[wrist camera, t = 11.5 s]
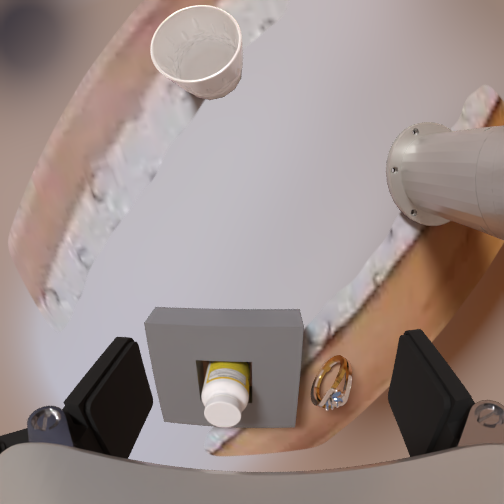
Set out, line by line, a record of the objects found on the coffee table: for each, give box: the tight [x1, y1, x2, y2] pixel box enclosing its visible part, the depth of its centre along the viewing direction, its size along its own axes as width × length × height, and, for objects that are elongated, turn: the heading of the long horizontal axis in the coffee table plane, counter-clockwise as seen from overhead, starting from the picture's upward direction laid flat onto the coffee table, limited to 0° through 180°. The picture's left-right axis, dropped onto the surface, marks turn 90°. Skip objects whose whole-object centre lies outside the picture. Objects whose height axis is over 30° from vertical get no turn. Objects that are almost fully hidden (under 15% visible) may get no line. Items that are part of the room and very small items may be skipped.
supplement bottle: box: [201, 361, 250, 427], centre depth 35 cm, size 5×5×10 cm
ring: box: [311, 355, 352, 411], centre depth 37 cm, size 7×3×8 cm, turn 145°
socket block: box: [144, 307, 304, 428], centre depth 39 cm, size 18×16×4 cm
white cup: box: [151, 5, 243, 100], centre depth 27 cm, size 8×8×10 cm
